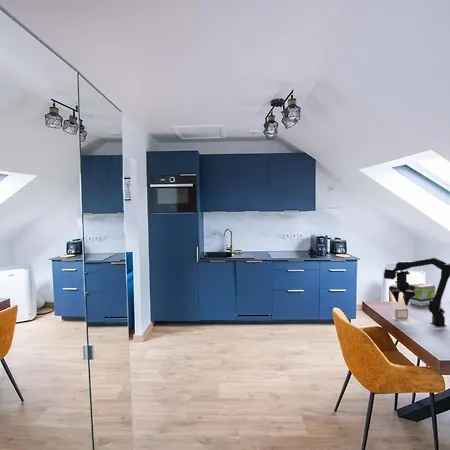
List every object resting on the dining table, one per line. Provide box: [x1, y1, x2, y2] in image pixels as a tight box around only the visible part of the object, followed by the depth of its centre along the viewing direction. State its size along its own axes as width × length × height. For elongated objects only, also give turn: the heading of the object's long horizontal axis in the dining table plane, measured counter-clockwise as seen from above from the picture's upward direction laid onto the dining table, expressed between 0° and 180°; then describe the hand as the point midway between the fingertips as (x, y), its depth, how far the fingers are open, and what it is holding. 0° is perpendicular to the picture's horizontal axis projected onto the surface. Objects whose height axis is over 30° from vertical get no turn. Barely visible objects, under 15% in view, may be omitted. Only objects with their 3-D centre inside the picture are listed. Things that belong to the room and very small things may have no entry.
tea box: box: [409, 282, 436, 307], centre depth 244 cm, size 15×10×15 cm
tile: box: [394, 308, 409, 319], centre depth 210 cm, size 2×8×6 cm, turn 97°
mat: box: [392, 316, 424, 326], centre depth 206 cm, size 14×12×1 cm
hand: (401, 303), depth 210 cm, fingers open, 9 cm apart
